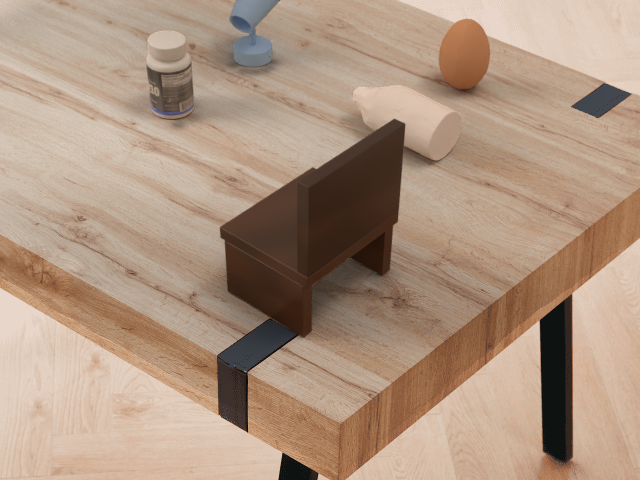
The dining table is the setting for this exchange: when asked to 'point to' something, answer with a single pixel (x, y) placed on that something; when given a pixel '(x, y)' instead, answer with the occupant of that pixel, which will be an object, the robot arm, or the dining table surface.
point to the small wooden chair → (317, 228)
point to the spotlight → (251, 32)
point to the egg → (464, 54)
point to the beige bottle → (411, 118)
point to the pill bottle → (169, 75)
